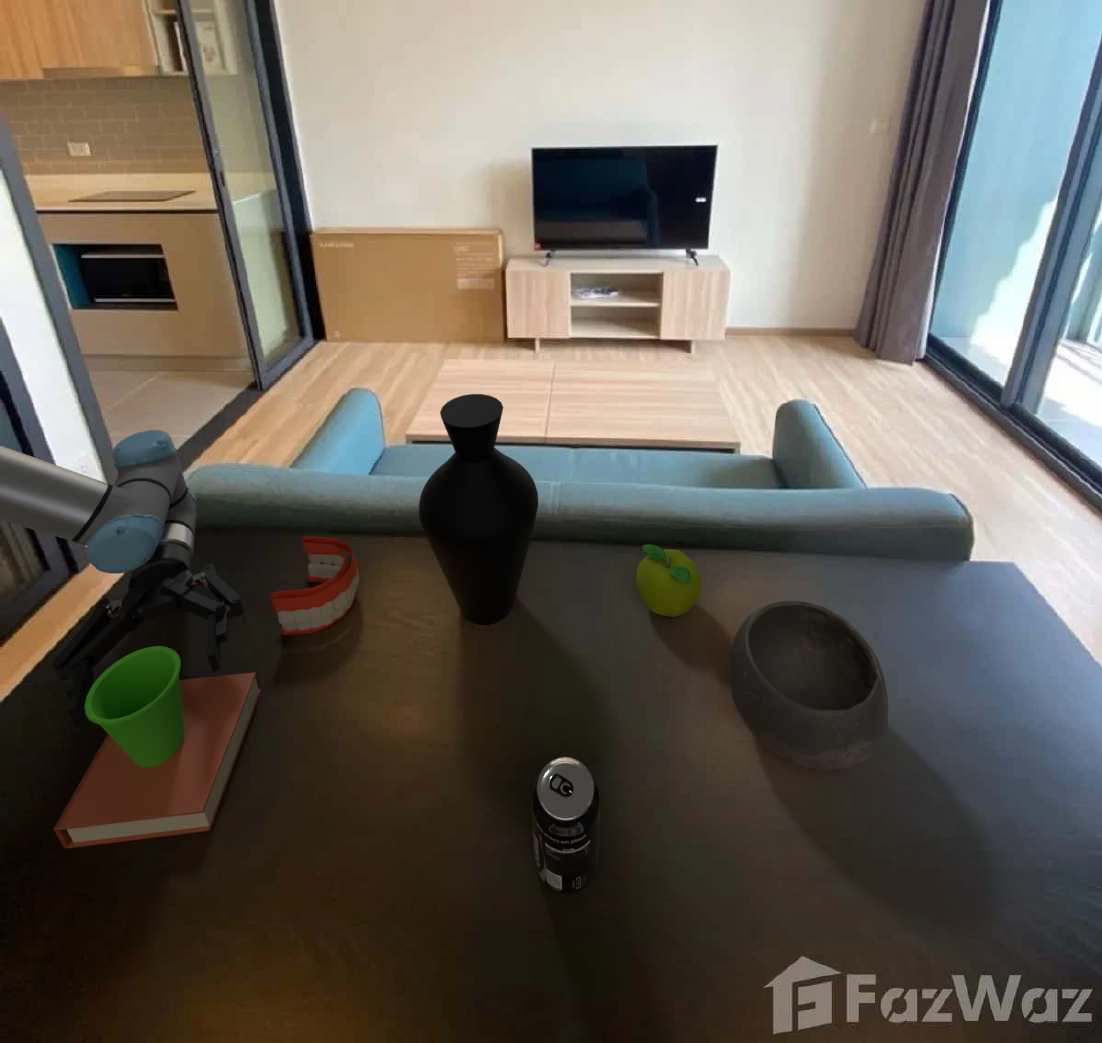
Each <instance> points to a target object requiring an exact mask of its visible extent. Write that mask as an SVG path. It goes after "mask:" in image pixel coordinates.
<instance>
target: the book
mask: <svg viewBox="0 0 1102 1043" xmlns="http://www.w3.org/2000/svg"><path fill="white" fill-rule="evenodd" d="M256 675H257V672H256V671H255V672H254V671H253V672H245V673H236V674H225V675H216V676H206V677H197V678H196V677H195V678H186V679H179V681H180V691H181V701H182V710H183V720H184V736H183V740H182V743H181V744H180V746H179V748H178V749H177V750H176V752H175V753H174V754H173V755H172V756H171V757H170V758H169V759H167V760H166V761H164V762H163V763H161V764H159V765H156V766H153V767H141V766H138V765H137V764H135V763H134V762H133V760H132V759H131V758H130V757H129V756H128V755H127V754H126V753H125V752H124V751H123V750H122V748H121V747H120V746H119V745H118V744H117V743H116V742H115V741H114V740H113V739H112V738H111V736H110V735H109V734H108V733H107V734H106V737H105V738H104V740H103V742H102V743H101V745H100V747H99V749H98V750H97V753H96V754H95V756H94V758H93V759H92V761H91V763H90V765H89V767H88V768H87V770H86V772H85V773H84V775H83V777H82V778H81V781H79V784H78V786H77V787H76V789H75V791H74V792H73V794H72V796H71V798H70V800H69V802H68V803H67V805H66V806H65V808H64V810H63V811H62V814H61V815H60V817H59V818H58V821H57V822H56V824H55V826H54V828H53V831H54V833H55V834H56V836H57V838H58V840H59V842H60V843H61V845H62V846H63V848H64V850H65V849H74V848H82V847H89V846H100V845H107V844H114V843H123V842H131V841H139V840H147V839H153V838H156V839H157V838H164V837H171V836H179V835H188V834H196V833H202V832H203V833H204V832H210V831H211V829H212V826H213V824H214V822H215V819H216V815H217V813H218V811H219V808H220V805H221V802H222V800H223V796H224V794H225V791H226V789H227V785H228V783H229V780H230V778H231V775H232V772H233V769H234V766H235V763H236V761H237V759H238V755H239V754H240V750H241V748H242V745H243V741H244V739H245V736H246V734H247V731H248V728H249V726H250V723H251V720H252V717H253V714H254V712H255V709H256V707H257V704H258V701H259V698H260V695H261V693H262V688H259V686H258V683H257V680H256V677H257V676H256Z"/></svg>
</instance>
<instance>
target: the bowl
mask: <svg viewBox="0 0 1102 1043" xmlns="http://www.w3.org/2000/svg"><path fill="white" fill-rule="evenodd" d="M732 640H733V641H732V644H731V646H730V649H729V650H730V651H729V654H728V655H729V657H728V663H727V664H728V666H727V667H728V668H727V673H728V675H727V676H728V684H729V689H730V694H731V698H732V700H733V703H734V706H735V709H736V710H737V712H738V715H739V716H740V718H741V719H742V721H743V723H744V724H745V726H746V727H747V728H748V730H749V731H750V732H751V733H752V735H753V736H754V737H755V738H756V739H757V740H758V741H759V742H760V743H761V744H762V745H764V746H765V747H766V748H767V749H768V750H770V751H771V752H773V753H774V754H775V755H778V756H779V757H780V758H782V759H784V760H786V761H788V762H790V763H792V764H795V765H797V766H799V767H804V768H808V769H812V770H816V771H817V770H818V771H839V770H845V769H847V768H851V767H854V766H857V765H860V764H861V763H863V762H865V761H866V760H868V759H869V758H870V757H871V756H872V755H873V754H874V753H875V752H876V751H877V749H878V748H879V747H880V745H881V744H882V742H883V741H884V738H885V736H886V735H887V730H888V724H889V699H888V691H887V684H886V680H885V676H884V672H883V669H882V667H881V664H880V661H879V660H878V657H877V655H876V653H875V652H874V650H873V648H872V647H871V646H870V644H869V643H868V641H867V640H866V639H865V637H863V635H862V634H861V633H860V632H859V631H858V630H857V629H855V628H854V626H852V625H851V624H850V622H849V621H847V619H845V618H844V617H842V616H841V615H840V614H838V613H836V612H834V611H832V610H831V609H829V608H827V607H825V606H822V605H819V604H816V603H811V602H808V601H803V600H780V601H774V602H771V603H767V604H766V605H764V606H761V607H759V608H758V609H756V610H755V611H753V612H752V613H751V614H750V615H749V616H747V617H746V619H745V620H743V622H742V623H741V624H740V626H739V628H738V630H737V631H736V633H735V635H734V637H733V639H732Z"/></svg>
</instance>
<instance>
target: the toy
mask: <svg viewBox="0 0 1102 1043" xmlns="http://www.w3.org/2000/svg"><path fill="white" fill-rule="evenodd" d="M300 541H301V543H302V545H303V548H304V550H305V553H306V555H307V557H308V560H309V562H310V563H309V564H308V566H307V570H308V575H307V581H308V582H309V583H320V584H319V585H316V586H314V587H309V588H308V587H307V588H301V589H300V588H299V589H289V590H287V589H285V590H278V591H275V592H271V593H270V594H269V600H270V602H271V604H272V606H273V608H274V611H275V612H276V613H277V620H278V623H279V624H281V626H282V627H281V634H282V635H283V636H292V635H295V636H297V635H305V634H312V633H317V632H319V631H323V630H325V629H327V628H329V627H330V626H332V625H333V624H335V623H337V622H338V621H339V620H341V619H342V618H343V617H344V616H345V615H346V614H347V613H348V612H349V610H350V609H351V607H352V606H353V604H354V601H355V598H356V595H357V588H358V587H359V582H360V575H359V568H358V566H359V561H358V559H357V557H356V556H355V554H354V552H353V551H352V549H351V547H350V546H349V545H348V544H347V542H345V541H344V540H342V539H340V538H335V537H334V538H333V537H328V536H313V535H312V536H311V535H304V536H302V537H301V538H300ZM321 563H322V564H321Z"/></svg>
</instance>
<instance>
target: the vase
mask: <svg viewBox="0 0 1102 1043" xmlns="http://www.w3.org/2000/svg"><path fill="white" fill-rule="evenodd" d="M503 411H504V405H503V402H502V401H500V400H499V399H498V398H497V397H495V396H492V395H488V394H483V393H470V394H464V395H463V394H462V395H460V396H457V397H454V398H452V399H450V400H448V401H447V402H446V403H444V405H443V406H442V407H441V409H440V412H439V415H440V418H441V421H442V423H443V426H444V428H445V431H446V433H447V436H448V438H449V440H450V443H451V445H452V447H453V450H454V453H453V454H452V455H451V456H450V457H449V458H448V459H447V460H445V462H444V463H443V464H441V465H440V466H439V467H438V468H437V469H435V471H434V472H433V473H432V474H431V476H429V477H428V480H427V481H426V482H425V484H424V486H423V488H422V490H421V493H420V497H419V502H418V517H419V521H420V524H421V526H422V530H423V531H424V535H425V537H426V539H427V540H428V544H429V546H430V547H431V550H432V552H433V554H434V556H435V558H436V560H437V562H438V565H439V567H440V569H441V571H442V574H443V575H444V577H445V580H446V582H447V584H448V586H449V587H450V588H449V589H450V591H451V593H452V595H453V597H454V599H455V601H456V603H457V605H458V608H459V610H460V612H461V613H462V615H463V617H464V618H465V619H466V620H467V621H468V622H470V623H472V624H475V625H478V626H490V625H493V624H498V623H499V622H500V620H501V621H502V620H504V619H505V618H506V617H507V616H508V615H509V614H511V611H512V609H513V607H514V604H515V600H516V597H517V593H518V589H519V585H520V581H521V577H522V573H523V569H524V567H525V563H526V559H527V554H528V551H529V546H530V543H531V540H532V536H533V532H534V527H535V523H536V518H537V515H538V508H539V493H538V489H537V485H536V482H535V481H534V478H533V477H532V475H531V474H530V473H529V471H528V470H527V469H526V468H525V467H524V466H523V465H522V464H521V463H520V462H518V461H517V460H515V459H513V458H512V457H510V456H508V455H506V454H505V453H503V452H502V451H500V450H499V449H497V448H496V443H497V437H498V434H499V428H500V424H501V420H502V416H503ZM498 621H499V622H498Z"/></svg>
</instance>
